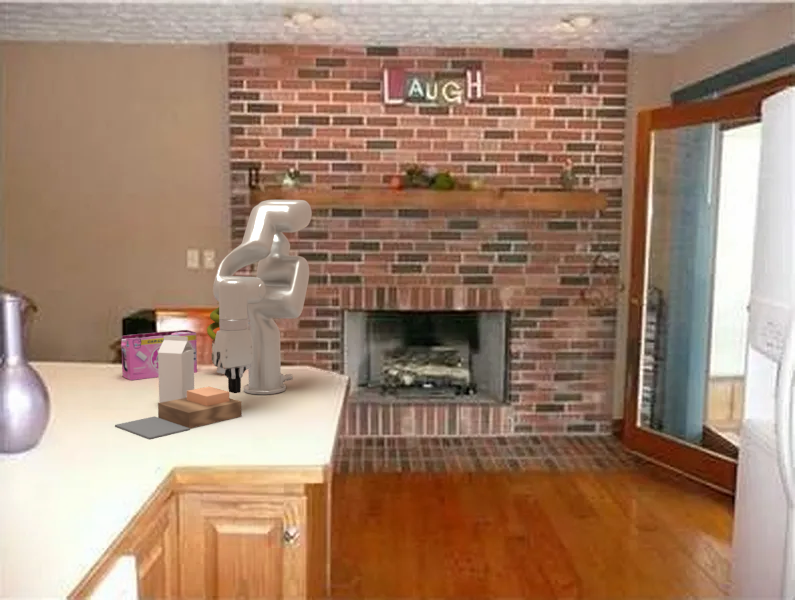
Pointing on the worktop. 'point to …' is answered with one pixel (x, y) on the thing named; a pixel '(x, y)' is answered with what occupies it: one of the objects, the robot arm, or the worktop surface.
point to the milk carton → (175, 368)
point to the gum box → (148, 353)
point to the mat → (152, 427)
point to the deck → (198, 412)
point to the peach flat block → (208, 396)
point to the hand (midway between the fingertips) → (234, 392)
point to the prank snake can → (211, 327)
